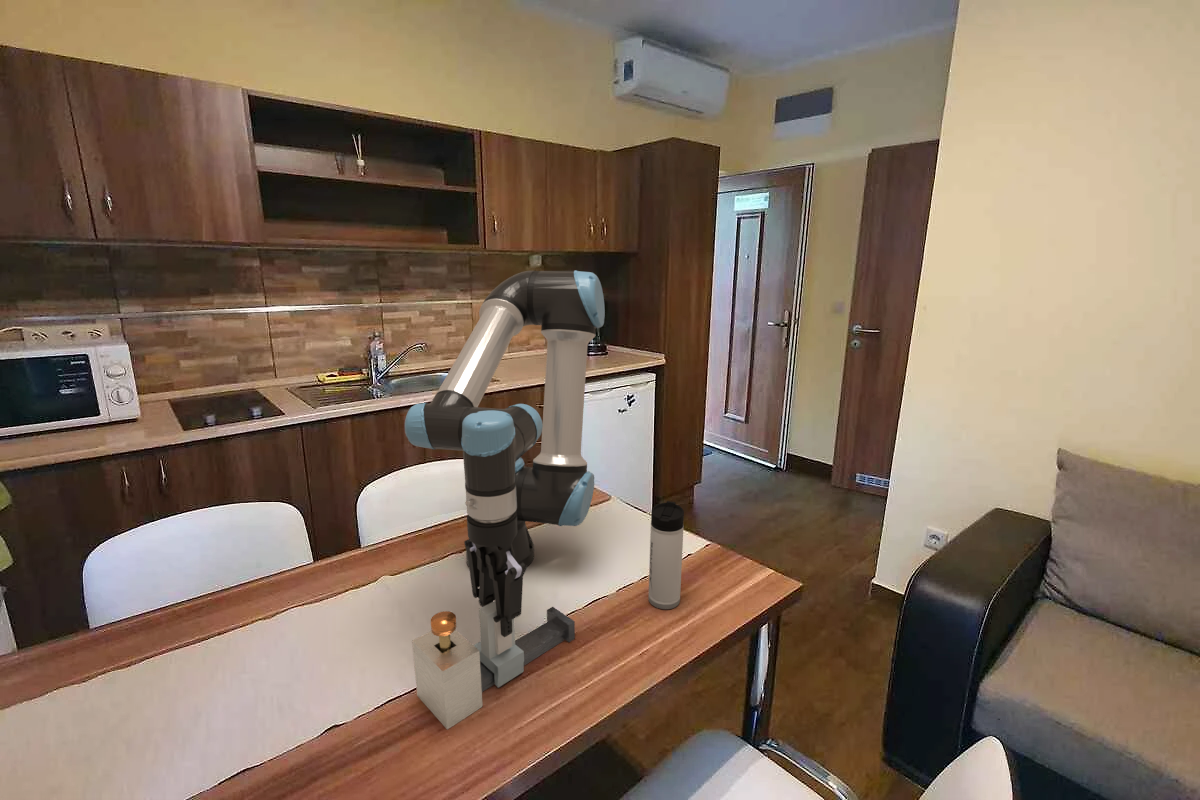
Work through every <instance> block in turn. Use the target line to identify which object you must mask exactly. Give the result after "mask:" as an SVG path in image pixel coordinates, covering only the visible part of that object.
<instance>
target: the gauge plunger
mask: <svg viewBox="0 0 1200 800" xmlns="http://www.w3.org/2000/svg"><path fill="white" fill-rule="evenodd" d="M457 627H458V626H457V616H456V613H455V612H453V611H449V610H446V611H440V612H437V613H435V614H434V615H433V616H431V618H430V629H431V630H430V631H431V632H432V633H433V634H434V635H436V636H439V644H440V652H441V653H444V652H446V651H448V650H449V649H451V640H450V634H451V633H453V632H454V631H455V630H456V629H457Z"/></svg>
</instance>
